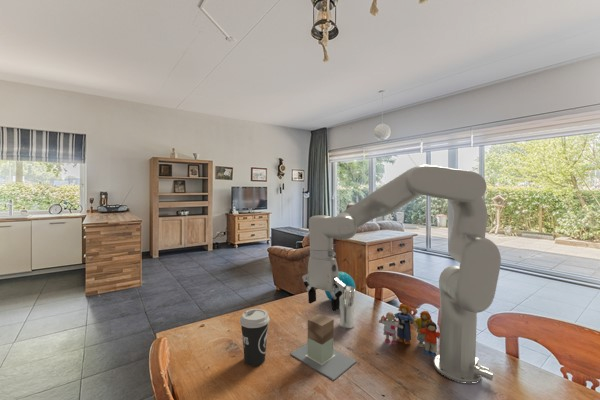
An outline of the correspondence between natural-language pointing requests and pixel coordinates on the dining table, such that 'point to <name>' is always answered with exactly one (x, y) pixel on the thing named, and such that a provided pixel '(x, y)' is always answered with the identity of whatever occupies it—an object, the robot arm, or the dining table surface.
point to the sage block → (320, 350)
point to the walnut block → (320, 328)
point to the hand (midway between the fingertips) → (323, 305)
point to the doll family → (423, 325)
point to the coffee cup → (254, 335)
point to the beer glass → (347, 307)
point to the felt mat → (326, 362)
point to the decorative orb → (345, 280)
